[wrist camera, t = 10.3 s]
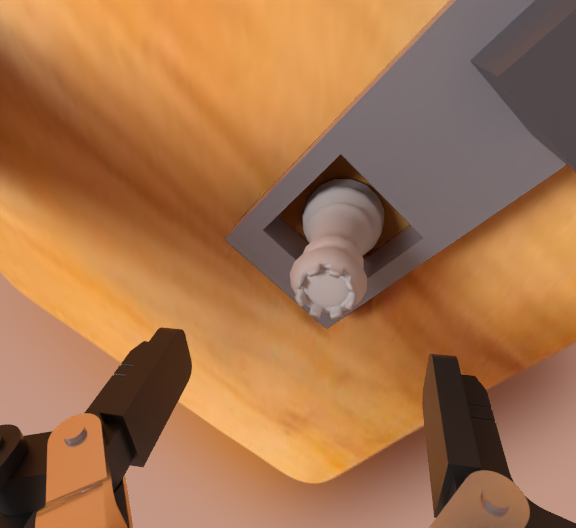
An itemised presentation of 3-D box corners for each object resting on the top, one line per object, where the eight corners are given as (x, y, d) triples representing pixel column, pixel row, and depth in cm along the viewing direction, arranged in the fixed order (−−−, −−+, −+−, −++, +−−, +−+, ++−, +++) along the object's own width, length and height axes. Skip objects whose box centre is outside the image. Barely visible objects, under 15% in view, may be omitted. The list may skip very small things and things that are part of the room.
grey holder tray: (331, 304, 26) (312, 394, 20) (238, 220, 25) (186, 290, 18) (752, 0, 15) (1009, -10, 9) (634, -192, 13) (849, -376, 7)
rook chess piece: (291, 222, 24) (252, 302, 17) (332, 159, 21) (305, 224, 15) (355, 261, 24) (340, 354, 18) (401, 204, 22) (406, 286, 15)
